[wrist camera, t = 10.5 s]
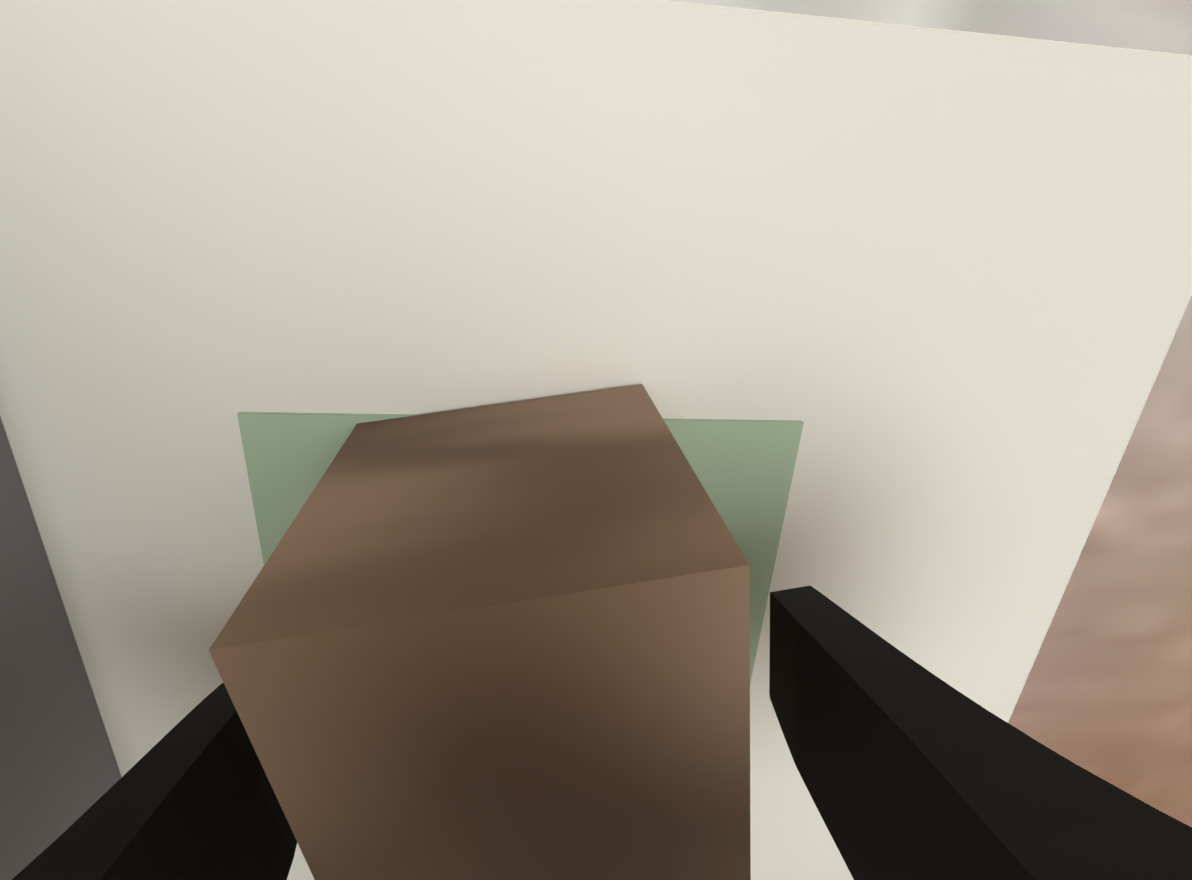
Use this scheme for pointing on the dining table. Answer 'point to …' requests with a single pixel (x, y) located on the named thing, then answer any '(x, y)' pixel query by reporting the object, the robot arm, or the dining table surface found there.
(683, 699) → the walnut block
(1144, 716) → the dining table surface
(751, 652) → the arena
